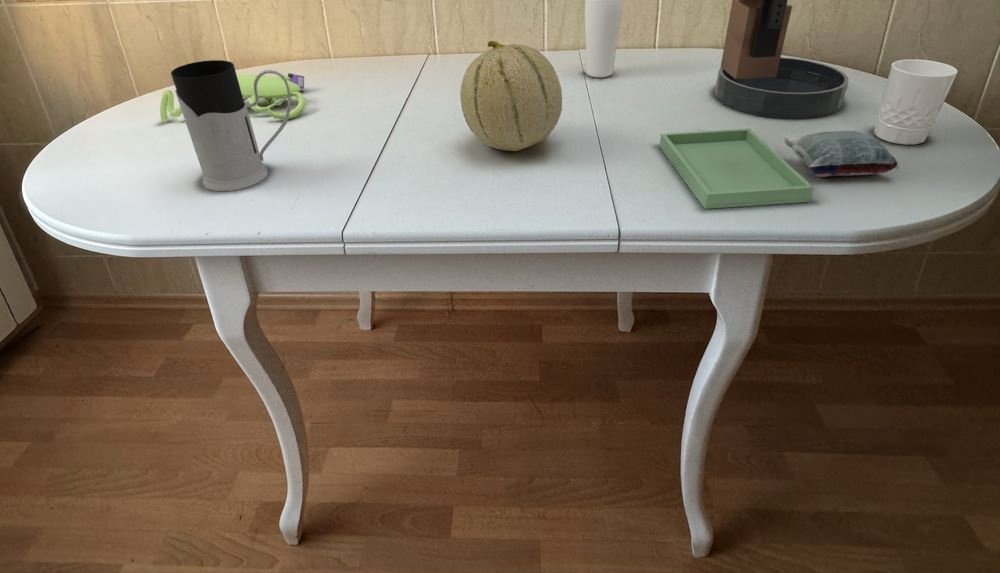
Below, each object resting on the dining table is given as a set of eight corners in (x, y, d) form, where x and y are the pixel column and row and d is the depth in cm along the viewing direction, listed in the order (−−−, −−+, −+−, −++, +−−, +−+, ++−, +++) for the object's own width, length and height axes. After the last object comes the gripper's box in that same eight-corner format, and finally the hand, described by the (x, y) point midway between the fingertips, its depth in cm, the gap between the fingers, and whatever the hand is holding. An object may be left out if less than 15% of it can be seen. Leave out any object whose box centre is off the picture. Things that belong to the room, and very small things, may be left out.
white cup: (904, 150, 88) (930, 79, 82) (857, 132, 93) (879, 64, 88) (942, 140, 90) (971, 70, 84) (894, 122, 96) (918, 56, 90)
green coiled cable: (195, 88, 121) (185, 58, 117) (329, 86, 119) (323, 56, 116) (145, 123, 106) (132, 91, 102) (298, 122, 104) (290, 89, 101)
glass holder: (202, 170, 89) (167, 64, 81) (303, 153, 93) (279, 50, 85) (202, 196, 83) (163, 83, 74) (310, 176, 87) (285, 67, 78)
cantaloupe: (555, 169, 86) (558, 58, 77) (453, 164, 88) (444, 56, 80) (566, 129, 98) (569, 29, 89) (475, 126, 100) (469, 28, 91)
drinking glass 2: (574, 74, 120) (577, -10, 111) (597, 66, 124) (601, -16, 115) (601, 82, 116) (607, -5, 107) (624, 73, 120) (631, -11, 111)
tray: (659, 146, 91) (661, 133, 90) (746, 141, 92) (749, 128, 91) (704, 209, 76) (707, 194, 75) (809, 202, 76) (814, 187, 75)
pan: (805, 76, 115) (811, 54, 113) (866, 114, 99) (874, 89, 97) (698, 82, 114) (702, 60, 112) (742, 122, 98) (747, 97, 96)
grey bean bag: (780, 156, 87) (788, 122, 84) (864, 154, 87) (876, 120, 84) (804, 185, 80) (815, 149, 77) (897, 182, 80) (911, 147, 77)
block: (758, 65, 79) (773, -4, 74) (776, 77, 75) (792, 5, 70) (720, 67, 79) (732, -2, 74) (735, 79, 75) (749, 7, 70)
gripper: (730, -189, 69) (696, 32, 82) (808, -197, 54) (752, 73, 68) (796, -191, 69) (752, 29, 83) (892, -200, 54) (819, 70, 68)
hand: (752, 49), depth 75 cm, fingers closed on block, 5 cm apart
